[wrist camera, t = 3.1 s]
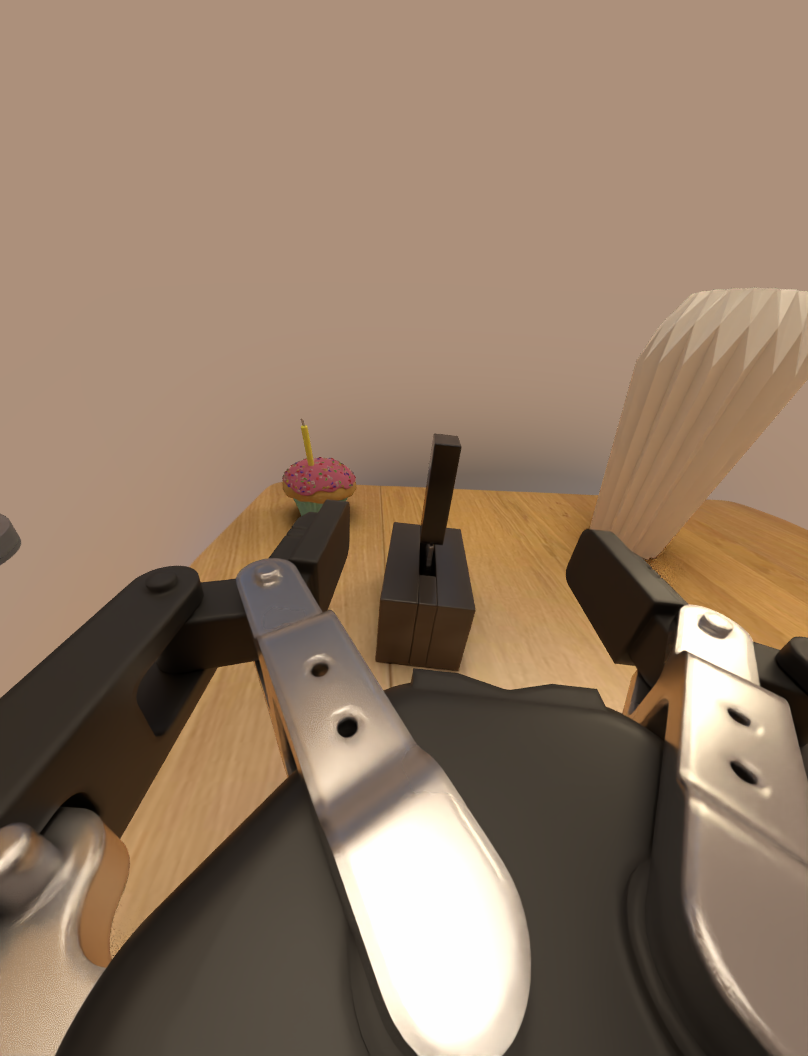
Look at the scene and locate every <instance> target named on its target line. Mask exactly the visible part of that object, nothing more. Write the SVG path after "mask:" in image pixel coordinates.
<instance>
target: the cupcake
mask: <svg viewBox="0 0 808 1056" xmlns="http://www.w3.org/2000/svg"><path fill="white" fill-rule="evenodd" d="M301 421H302V425H303V426H301V430H302V435H303V440H304V445H305V450H306V455H307V458H306V459H305V460H302V461H298V462H297V463H295V464H293V465H291V467H290V468H289V469H287V471H285V472H284V475H283V490H284V492H285V493H286V495H287V496H288V497H290V498H293V499H294V501H295V502H296V504H297V506H298V509H299V511H300V513H301V516H303V515H305V514H306V513H308V512H317V513H318V512H319V510H320V508H321V507H322V505H323V504H324V502H325V501H326V500H327V499H328V500H337V501H346V500H347V498H348V497H350V496H352V495H353V493H354V492H355V490H356V482H355V478H356V477H355V476H354V474H353V472H352V471H351V470H350V469H349V468H347V467H346V466H345V465H344V464H342V463H340V462H339V461H336V460H334V459H333V458H329V459H327V458H321V457H319V458H313V455H312V449H311V444H310V439H309V433H308V428H307V426H306V425H304V421H303V419H301Z"/></svg>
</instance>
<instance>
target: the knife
mask: <svg viewBox="0 0 808 1056" xmlns="http://www.w3.org/2000/svg"><path fill="white" fill-rule="evenodd" d="M460 452H461V444H460V441H459V438H458V436H451V435H443V434H434V435H433V442H432V449H431V456H430V463H429V470H428V478H427V485H426V492H425V499H424V506H423V513H422V520H421V532H420V543H426V548H425V555H424V561H423V567H422V574H421V575H424V576H429V572H430V566H431V560H432V554H433V549H434V545H443V542H444V537H445V532H446V526H447V521H448V516H449V510H450V505H451V500H452V495H453V489H454V484H455V479H456V473H457V468H458V463H459V457H460Z"/></svg>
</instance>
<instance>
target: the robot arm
mask: <svg viewBox="0 0 808 1056" xmlns="http://www.w3.org/2000/svg"><path fill="white" fill-rule="evenodd" d="M349 528H350V506H349V502H346V501H337V500H328V499H327V500H326V501H325V502H324V504H323V505H322V507H321V508H320V510H319V512H318V513H317V512H308V513H306V514H305V515H303V516H301V517H299V518H298V519H297V520H296V522H295V523H294V524H293V526H292V529H290V530H289V531H288V533H287V535H286V536H285V537H284V538H283V539H282V541H281V542H280V544H279V545H278V546H277V548H276V549H275V550H274V552H273V553H272V554H271V556H270V557H269V559H263V560H259V561H255V562H253V563H251V564H249V565H247V566H246V567H244V568H243V569H242V570H241V571H240V572H239V573H238V575H237V577H236V579H230V580H221V581H211V582H200V579H199V575H198V573H197V572H196V571H195V570H194V569H192V568H190V567H186V566H169V567H163V568H159V569H155V570H152V571H150V572H148V573H145V574H143V575H141V576H139V577H138V578H136V579H135V580H133V581H132V582H131V583H130V584H129V585H128V586H127V587H125V588H124V589H123V590H122V591H121V592H120V593H118V594H117V595H116V596H115V597H114V598H113V599H112V600H111V601H109V602H108V603H107V604H106V605H105V606H104V607H103V608H102V609H101V610H99V611H98V612H97V613H96V614H95V615H94V616H93V617H91V618H90V619H89V620H88V621H87V622H86V623H85V624H84V625H82V626H81V627H80V628H79V629H78V630H77V631H76V632H75V633H74V634H72V635H71V636H70V637H69V638H68V639H67V640H65V641H64V642H63V643H62V644H61V645H60V646H59V647H58V648H56V649H55V650H54V651H53V652H52V653H51V654H50V655H49V656H48V657H46V658H45V659H44V660H43V661H42V662H41V663H40V664H38V665H37V666H36V667H35V668H34V669H33V670H32V671H31V672H29V673H28V674H27V675H26V676H25V677H24V678H23V679H22V680H20V681H19V682H18V683H17V684H16V685H15V686H14V687H13V688H11V689H10V690H9V691H8V692H7V693H6V694H5V695H3V696H2V697H1V698H0V1056H808V638H806V637H794V638H792V639H791V640H790V641H789V642H788V643H787V644H786V645H785V646H784V647H783V648H782V649H781V650H778V649H775V648H772V647H768V646H765V645H762V644H759V643H755V642H753V641H752V638H751V637H750V635H749V634H748V633H747V632H746V631H745V630H744V629H743V628H742V627H741V626H740V625H738V624H737V623H736V622H734V621H733V620H731V619H729V618H728V617H726V616H724V615H722V614H720V613H718V612H716V611H713V610H711V609H708V608H705V607H701V606H696V605H689V604H688V603H687V602H686V601H685V600H684V599H683V598H682V597H681V596H680V595H679V594H678V593H677V592H676V591H675V590H674V589H673V588H672V587H671V586H670V585H669V584H668V583H667V582H666V581H665V580H664V579H661V578H660V577H661V576H660V575H659V574H658V573H657V572H656V571H655V570H652V567H651V566H650V565H649V564H648V563H647V562H646V561H645V560H644V559H643V558H642V557H640V556H639V555H637V554H635V553H634V552H632V551H631V550H630V549H629V548H628V547H627V546H626V545H625V544H624V543H623V542H622V541H621V540H620V539H619V538H618V537H617V536H616V535H615V534H614V533H613V532H611V531H602V530H593V529H586V530H584V531H583V532H582V534H581V536H580V538H579V540H578V543H577V545H576V547H575V549H574V552H573V554H572V556H571V559H570V561H569V563H568V566H567V569H566V580H567V583H568V585H569V587H570V588H571V590H572V592H573V594H574V595H575V597H576V599H577V600H578V602H579V604H580V606H581V607H582V609H583V611H584V612H585V614H586V616H587V617H588V619H589V621H590V623H591V624H592V626H593V628H594V629H595V631H596V633H597V634H598V636H599V638H600V640H601V641H602V643H603V645H604V646H605V648H606V650H607V652H608V653H609V655H610V657H611V658H612V660H613V662H614V663H615V664H624V665H633V666H636V667H637V670H636V672H635V673H634V674H633V676H632V678H631V681H630V685H629V689H628V693H627V697H626V701H625V705H624V709H623V713H619V712H617V711H615V710H613V709H610V708H608V707H606V706H605V704H604V702H603V700H602V698H601V696H600V694H599V692H598V690H597V689H591V688H582V687H574V686H565V685H556V684H549V685H542V686H535V687H528V688H521V689H514V690H506V689H502V688H499V687H496V686H493V685H491V684H488V683H485V682H482V681H479V680H476V679H473V678H470V677H467V676H464V675H462V674H459V673H451V672H442V671H433V670H424V669H415V668H413V673H412V679H411V683H407V684H402V685H398V686H394V687H391V688H389V689H386V690H384V691H383V690H382V688H381V686H380V685H379V683H378V682H377V680H376V678H375V677H374V675H373V674H372V672H371V670H370V669H369V667H368V666H367V664H366V662H365V661H364V659H363V658H362V656H361V654H360V653H359V651H358V650H357V648H356V646H355V645H354V643H353V642H352V640H351V638H350V637H349V635H348V634H347V632H346V630H345V629H344V627H343V626H342V624H341V622H340V621H339V619H338V618H337V616H336V615H335V613H334V612H333V611H331V610H328V607H329V605H330V602H331V599H332V597H333V594H334V591H335V588H336V586H337V583H338V580H339V578H340V575H341V572H342V570H343V567H344V564H345V561H346V559H347V555H348V550H349ZM327 610H328V611H327ZM251 661H253V662H254V665H255V668H256V671H257V675H258V678H259V681H260V685H261V688H262V691H263V694H264V698H265V701H266V704H267V708H268V711H269V714H270V717H271V721H272V724H273V728H274V732H275V736H276V740H277V744H278V747H279V751H280V754H281V758H282V761H283V765H284V768H285V771H286V775H287V779H286V780H285V781H284V782H283V783H282V784H281V785H280V786H279V787H278V788H277V789H276V790H275V791H274V792H273V793H272V794H271V795H270V796H269V797H268V798H267V799H266V800H265V801H264V802H263V803H262V804H261V805H260V806H259V807H258V808H257V809H256V810H255V811H254V812H253V813H252V814H251V815H250V816H249V817H248V818H247V819H246V820H245V821H244V822H243V823H242V824H241V825H240V826H239V827H238V828H237V829H236V830H235V831H234V832H233V833H232V834H231V835H230V836H229V837H228V838H227V839H226V840H225V841H223V842H222V843H221V844H220V845H219V846H218V847H217V848H216V849H215V850H214V851H213V852H212V853H211V854H210V855H209V856H208V857H207V858H206V859H205V860H204V861H203V862H202V863H201V864H200V865H199V866H198V867H197V868H196V869H195V870H194V871H193V872H192V873H191V874H190V875H189V876H188V877H187V878H186V879H185V880H184V881H183V882H182V883H181V884H180V885H179V886H178V887H177V888H176V889H175V890H174V891H173V892H172V893H171V894H170V895H169V896H168V897H167V898H166V899H165V900H164V901H163V902H162V903H161V904H160V905H159V906H158V907H157V908H156V909H155V910H154V911H153V912H152V913H151V914H150V915H149V916H148V917H147V918H146V919H145V920H144V922H143V923H142V924H141V925H140V926H139V927H138V928H137V929H136V930H135V932H134V933H133V934H132V935H131V936H130V938H129V939H128V940H127V941H126V942H125V944H124V945H123V946H122V947H121V949H120V950H119V951H118V953H117V954H116V955H115V957H114V958H113V959H112V958H111V953H110V933H111V927H112V922H113V919H114V915H115V911H116V909H117V906H118V904H119V901H120V899H121V896H122V894H123V891H124V889H125V886H126V883H127V879H128V876H129V868H130V857H129V853H128V849H127V848H126V846H125V844H124V843H123V842H122V841H121V840H120V838H121V836H122V835H123V833H124V831H125V829H126V828H127V826H128V824H129V822H130V821H131V819H132V817H133V815H134V814H135V812H136V810H137V808H138V807H139V805H140V803H141V801H142V799H143V798H144V796H145V794H146V792H147V791H148V789H149V787H150V785H151V784H152V782H153V780H154V778H155V777H156V775H157V773H158V771H159V770H160V768H161V766H162V764H163V763H164V761H165V759H166V757H167V756H168V754H169V752H170V750H171V749H172V747H173V745H174V743H175V742H176V740H177V738H178V736H179V734H180V733H181V731H182V729H183V727H184V726H185V724H186V722H187V720H188V719H189V717H190V715H191V713H192V712H193V710H194V708H195V706H196V705H197V703H198V701H199V699H200V698H201V696H202V694H203V692H204V691H205V689H206V687H207V685H208V684H209V682H210V680H211V678H212V677H213V675H214V673H215V671H216V669H217V668H218V667H222V666H228V665H233V664H239V663H245V662H251Z"/></svg>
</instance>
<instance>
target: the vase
mask: <svg viewBox="0 0 808 1056" xmlns="http://www.w3.org/2000/svg"><path fill="white" fill-rule="evenodd" d="M807 379H808V291H798V290H796V289H791V290H780V289H778V288H769V289H760V288H747V289H738V288H731V289H728V290H722V289H715V290H713V291H701V292H699V293H695V294H691V295H690V296H689V297H688V298H687V299H686V300H685V301H684V302H683V303H682V304H681V305H680V306H679V307H678V308H677V309H676V310H675V311H674V312H673V313H672V314H671V315H670V316H669V317H668V318H667V319H666V320H665V321H664V322H663V323H662V324H661V325H660V326H659V327H658V329H657V330H656V331H655V333H654V334H653V336H652V338H651V339H650V341H649V342H648V344H647V345H646V347H645V348H644V350H643V351H642V353H641V354H640V356H639V357H638V359H637V361H636V364H635V367H634V371H633V375H632V378H631V381H630V385H629V389H628V392H627V396H626V400H625V403H624V407H623V410H622V414H621V417H620V421H619V425H618V428H617V432H616V435H615V439H614V442H613V446H612V449H611V453H610V457H609V460H608V464H607V467H606V471H605V475H604V478H603V482H602V485H601V489H600V493H599V496H598V500H597V503H596V507H595V511H594V514H593V518H592V522H591V526H590V529H593V530H602V531H611V532H613V533H614V534H615V535H616V536H617V537H618V538H619V539H620V540H621V541H622V542H623V543H624V544H625V545H626V546H627V547H628V548H629V549H630V550H631V551H632V552H634V553H635V554H637V555H639V556H640V557H642V558H644V559H647V560H648V559H649V558H650V557H651V558H655V557H656V556H657V555H658V554H659V553H660V552H661V551H662V550H663V549H664V548H665V546H666V545H667V544H668V543H669V542H670V541H671V540H672V538H673V537H674V536H675V535H676V534H677V533H678V531H679V530H680V529H681V528H682V527H683V525H684V524H685V523H686V522H687V521H688V520H689V518H690V517H691V516H692V515H693V514H694V513H695V511H696V510H697V509H698V508H699V507H700V506H701V504H702V503H703V502H704V501H705V500H706V499H707V497H708V496H709V495H710V494H711V493H712V491H713V490H714V489H715V488H716V487H717V486H718V484H719V483H720V482H721V481H722V480H723V478H724V477H725V476H726V475H727V474H728V473H729V471H730V470H731V469H732V468H733V467H734V466H735V464H736V463H737V462H738V461H739V460H740V459H741V457H742V456H743V455H744V454H745V453H746V452H747V450H748V449H749V448H750V447H751V446H752V444H753V443H754V442H755V441H756V440H757V439H758V437H759V436H760V435H761V434H762V432H763V431H764V430H765V429H766V428H767V427H768V426H769V424H770V423H771V422H772V421H773V420H774V419H775V417H776V416H777V415H778V414H779V413H780V412H781V410H782V409H783V408H784V407H785V406H786V404H787V403H788V402H789V401H790V400H791V398H792V397H793V396H794V395H795V394H796V393H797V391H798V390H799V389H800V388H801V387H802V385H803V384H804V383H805V382H806V381H807Z"/></svg>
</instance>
